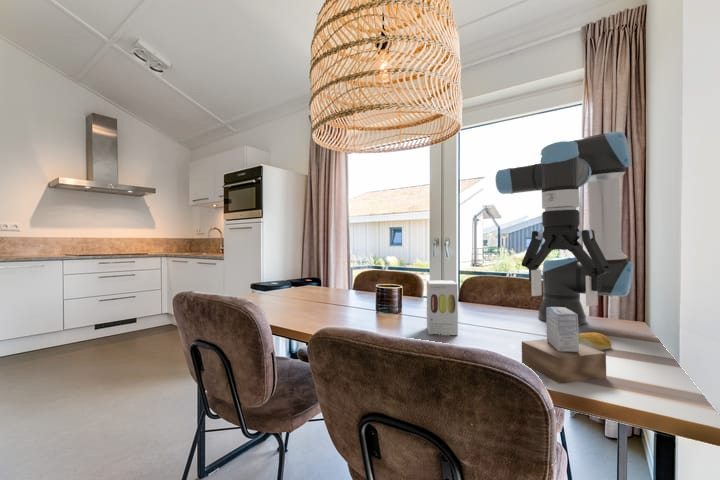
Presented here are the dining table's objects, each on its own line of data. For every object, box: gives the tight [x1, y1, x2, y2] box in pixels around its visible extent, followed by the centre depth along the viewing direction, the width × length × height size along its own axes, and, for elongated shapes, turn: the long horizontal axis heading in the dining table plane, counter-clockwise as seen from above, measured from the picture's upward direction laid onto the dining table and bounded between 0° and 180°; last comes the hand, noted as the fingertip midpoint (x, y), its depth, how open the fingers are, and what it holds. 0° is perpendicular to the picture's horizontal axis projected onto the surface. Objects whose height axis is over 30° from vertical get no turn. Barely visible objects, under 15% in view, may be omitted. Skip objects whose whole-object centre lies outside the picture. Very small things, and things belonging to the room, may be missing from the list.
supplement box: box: [426, 279, 459, 336], centre depth 113 cm, size 10×9×17 cm
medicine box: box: [545, 307, 580, 352], centre depth 79 cm, size 8×4×9 cm, turn 167°
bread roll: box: [578, 331, 612, 351], centre depth 96 cm, size 8×9×4 cm
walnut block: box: [521, 338, 607, 385], centre depth 79 cm, size 12×12×6 cm
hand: (562, 300), depth 79 cm, fingers open, 13 cm apart
